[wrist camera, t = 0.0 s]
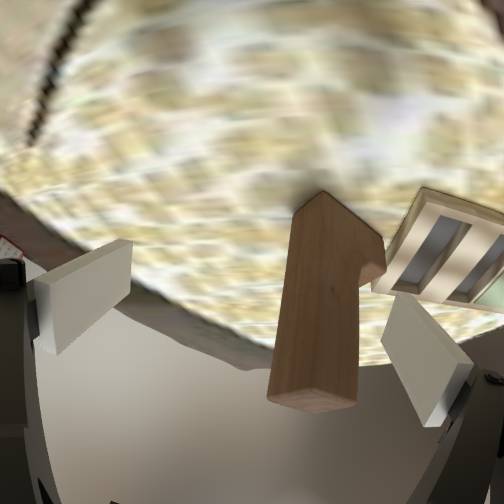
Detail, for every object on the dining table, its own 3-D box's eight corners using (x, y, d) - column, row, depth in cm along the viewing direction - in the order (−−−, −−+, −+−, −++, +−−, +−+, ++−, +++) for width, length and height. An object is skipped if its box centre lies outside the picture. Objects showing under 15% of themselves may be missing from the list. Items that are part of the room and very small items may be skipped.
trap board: (421, 187, 26) (427, 203, 24) (566, 241, 25) (573, 255, 23) (370, 277, 37) (371, 294, 35) (508, 303, 36) (512, 316, 34)
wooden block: (384, 238, 32) (394, 416, 20) (353, 258, 35) (349, 424, 23) (322, 188, 28) (310, 391, 17) (291, 214, 31) (263, 401, 20)
